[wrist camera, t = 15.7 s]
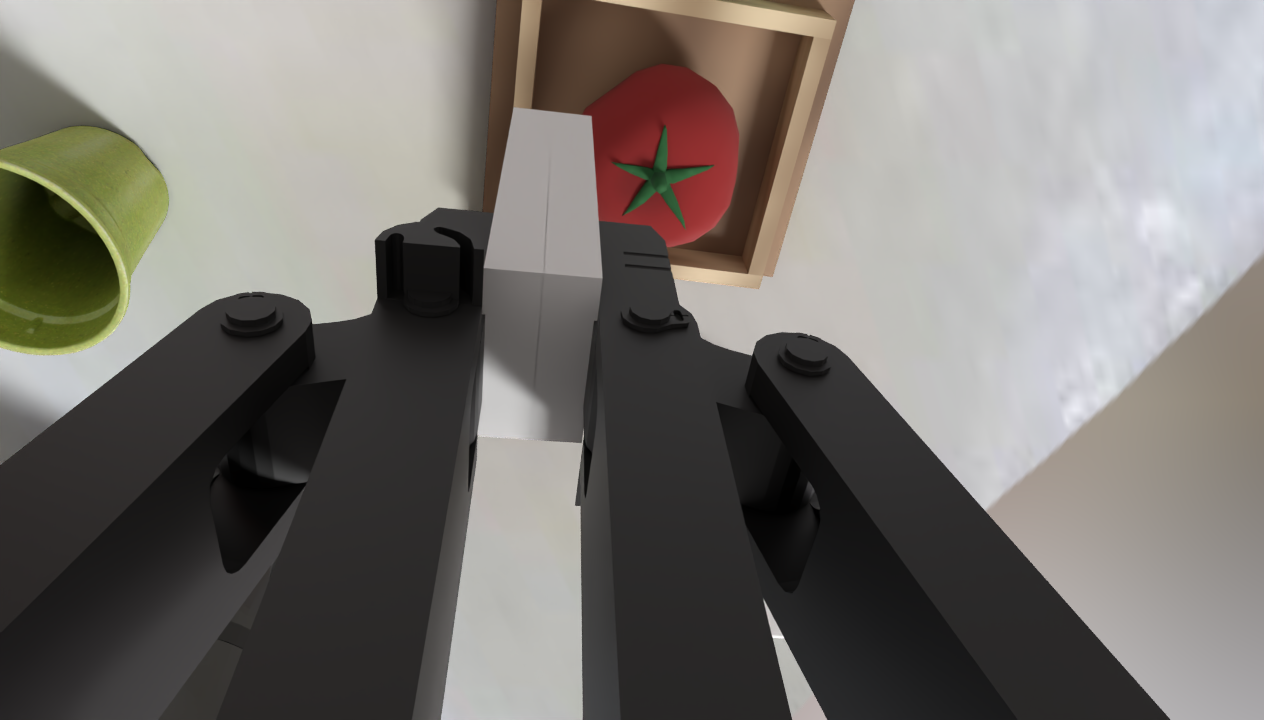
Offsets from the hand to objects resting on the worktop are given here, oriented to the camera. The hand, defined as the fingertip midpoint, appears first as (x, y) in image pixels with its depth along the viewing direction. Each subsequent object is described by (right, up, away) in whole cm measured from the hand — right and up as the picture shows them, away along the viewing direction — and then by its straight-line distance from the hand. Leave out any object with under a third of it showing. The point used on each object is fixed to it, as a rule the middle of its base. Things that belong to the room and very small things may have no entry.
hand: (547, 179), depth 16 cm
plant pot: (-25, +5, +25) cm, 36 cm away
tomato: (+3, +8, +24) cm, 25 cm away
